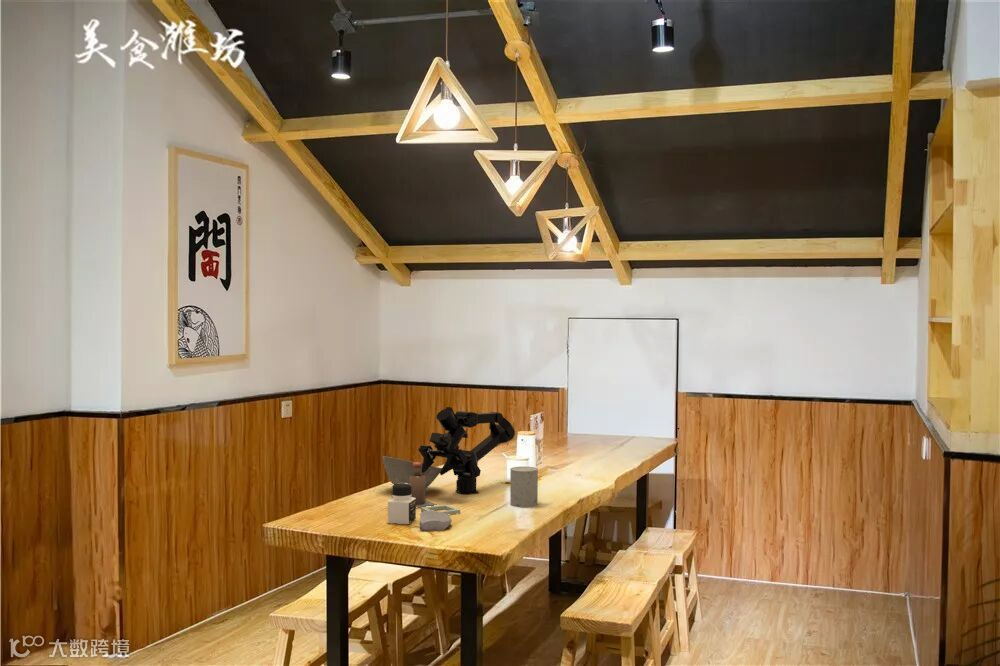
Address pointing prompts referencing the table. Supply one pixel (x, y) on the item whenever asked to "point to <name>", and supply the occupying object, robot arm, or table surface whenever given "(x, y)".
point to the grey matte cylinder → (523, 486)
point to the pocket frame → (450, 509)
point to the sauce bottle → (417, 484)
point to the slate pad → (426, 504)
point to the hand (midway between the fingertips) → (431, 473)
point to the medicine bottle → (401, 505)
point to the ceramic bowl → (407, 471)
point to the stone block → (434, 521)
